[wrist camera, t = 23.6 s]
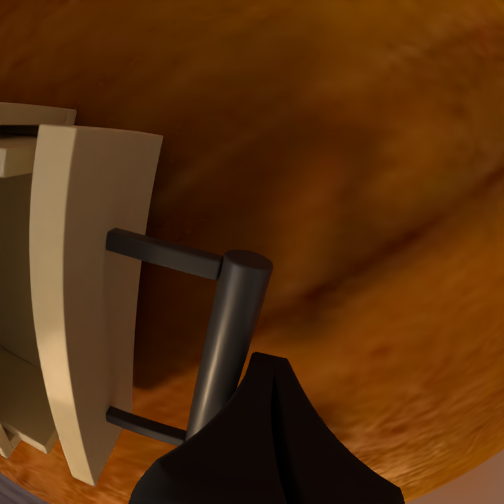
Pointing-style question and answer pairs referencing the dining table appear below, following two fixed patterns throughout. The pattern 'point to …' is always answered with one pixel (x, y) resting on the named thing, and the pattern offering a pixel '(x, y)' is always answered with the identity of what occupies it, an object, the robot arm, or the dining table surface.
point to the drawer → (98, 293)
